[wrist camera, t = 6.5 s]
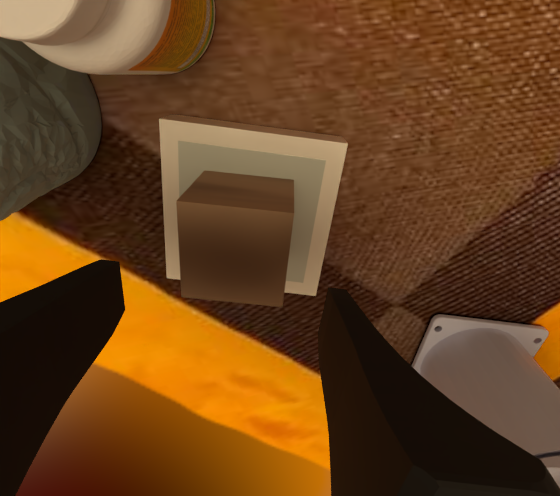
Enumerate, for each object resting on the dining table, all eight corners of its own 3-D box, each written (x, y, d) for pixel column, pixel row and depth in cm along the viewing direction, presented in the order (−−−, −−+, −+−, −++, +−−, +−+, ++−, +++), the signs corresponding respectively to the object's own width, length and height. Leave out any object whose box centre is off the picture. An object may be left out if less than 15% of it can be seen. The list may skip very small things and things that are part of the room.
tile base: (313, 278, 22) (315, 296, 20) (177, 261, 21) (166, 278, 20) (342, 136, 17) (348, 143, 16) (172, 113, 17) (158, 118, 15)
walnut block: (284, 257, 19) (282, 307, 15) (205, 249, 19) (181, 297, 15) (293, 179, 17) (294, 213, 13) (204, 170, 16) (176, 200, 12)
